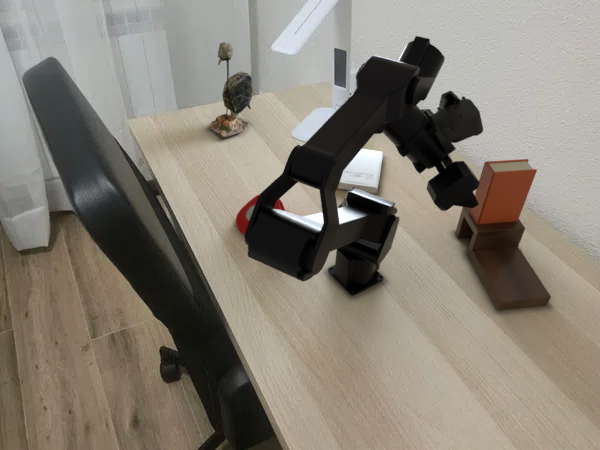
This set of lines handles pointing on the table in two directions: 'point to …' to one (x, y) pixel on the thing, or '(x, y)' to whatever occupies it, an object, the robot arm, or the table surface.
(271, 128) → the table surface
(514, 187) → the book
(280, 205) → the tracker holder
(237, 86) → the plant with pod
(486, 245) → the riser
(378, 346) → the table surface
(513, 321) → the table surface
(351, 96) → the robot arm
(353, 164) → the hard drive
